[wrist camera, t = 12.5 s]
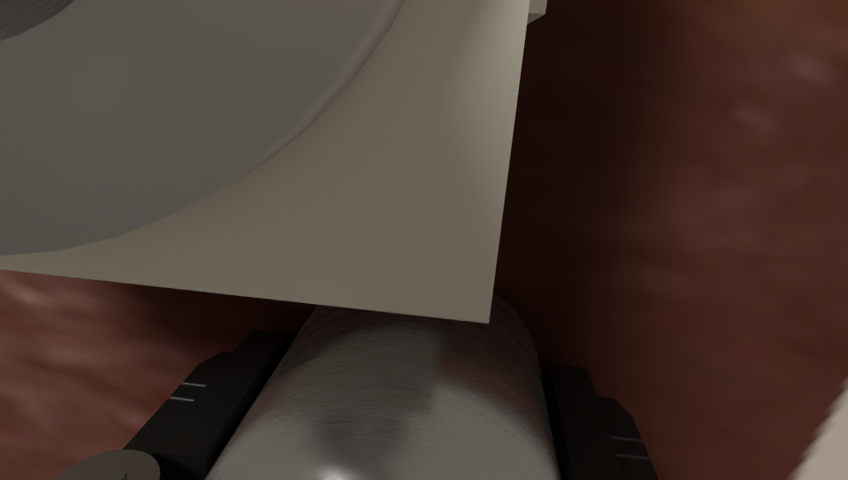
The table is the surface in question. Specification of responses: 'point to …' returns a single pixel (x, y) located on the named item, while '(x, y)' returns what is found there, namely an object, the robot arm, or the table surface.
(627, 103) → the table surface
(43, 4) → the cylinder
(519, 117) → the table surface
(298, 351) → the cylinder
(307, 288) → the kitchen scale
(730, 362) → the table surface
